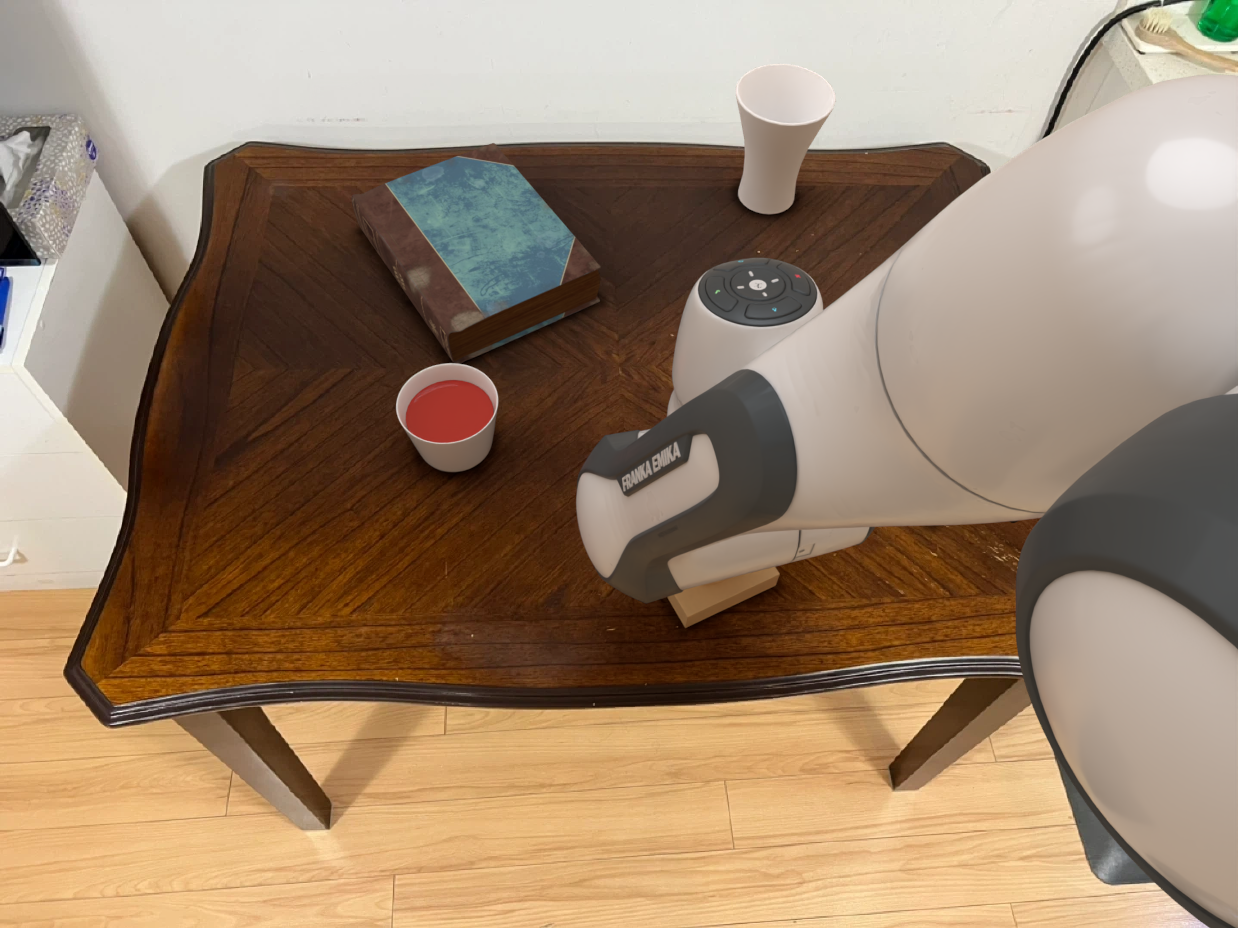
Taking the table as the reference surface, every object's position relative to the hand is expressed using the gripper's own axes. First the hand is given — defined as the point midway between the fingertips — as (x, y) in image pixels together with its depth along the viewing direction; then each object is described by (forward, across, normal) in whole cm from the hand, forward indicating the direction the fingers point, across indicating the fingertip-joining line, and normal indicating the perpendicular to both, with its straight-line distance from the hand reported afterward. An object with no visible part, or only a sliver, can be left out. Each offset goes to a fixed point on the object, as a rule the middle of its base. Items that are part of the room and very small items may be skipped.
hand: (705, 535), depth 80 cm
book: (+5, -4, +42) cm, 42 cm away
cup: (+5, +30, +38) cm, 49 cm away
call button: (+4, 0, 0) cm, 4 cm away
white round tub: (+4, -15, +21) cm, 26 cm away
